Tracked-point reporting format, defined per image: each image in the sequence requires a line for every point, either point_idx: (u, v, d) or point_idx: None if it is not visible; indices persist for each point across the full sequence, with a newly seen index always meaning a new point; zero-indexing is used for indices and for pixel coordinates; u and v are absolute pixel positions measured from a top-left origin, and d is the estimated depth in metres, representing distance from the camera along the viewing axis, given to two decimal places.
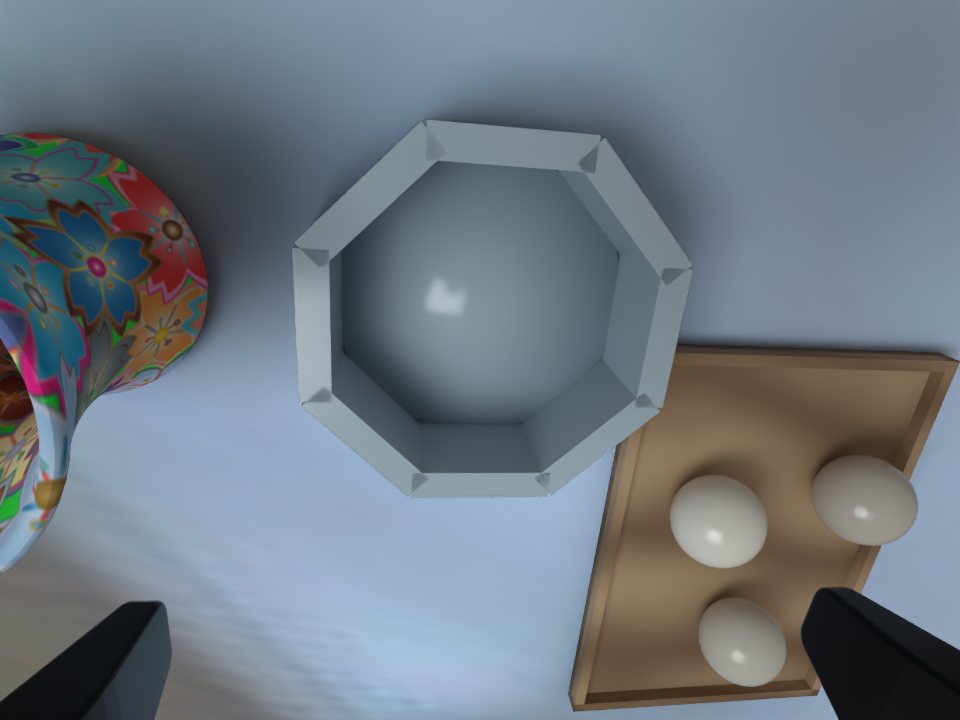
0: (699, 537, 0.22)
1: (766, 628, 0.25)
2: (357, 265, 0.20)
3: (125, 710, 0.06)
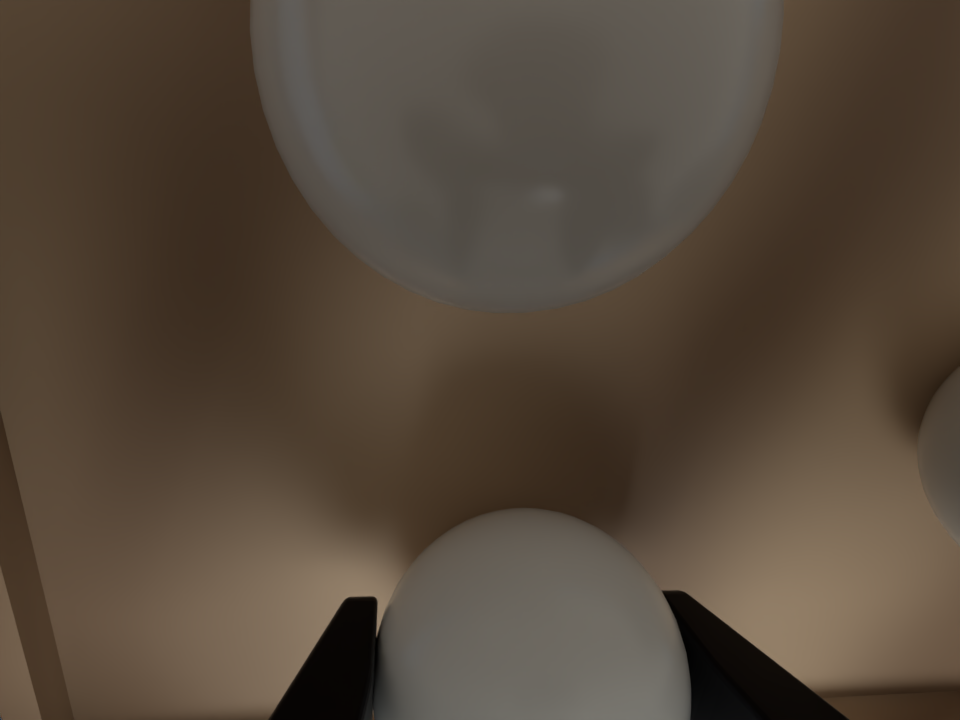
0: None
1: None
2: None
3: (372, 698, 0.06)
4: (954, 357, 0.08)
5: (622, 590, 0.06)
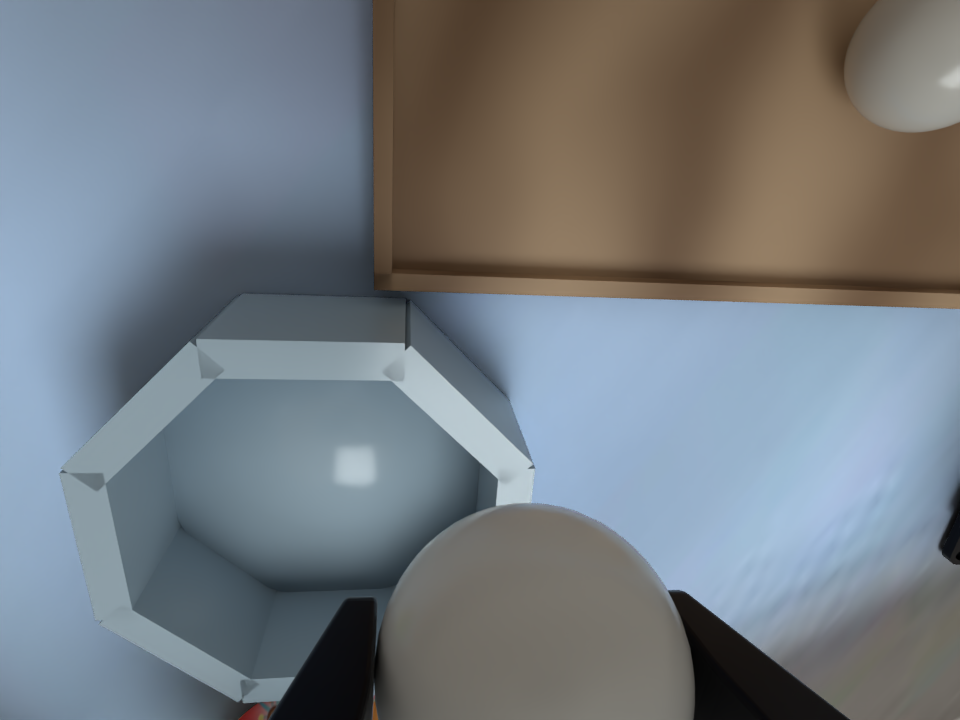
0: None
1: (905, 27, 0.13)
2: (300, 580, 0.20)
3: (372, 698, 0.06)
4: None
5: (626, 584, 0.06)
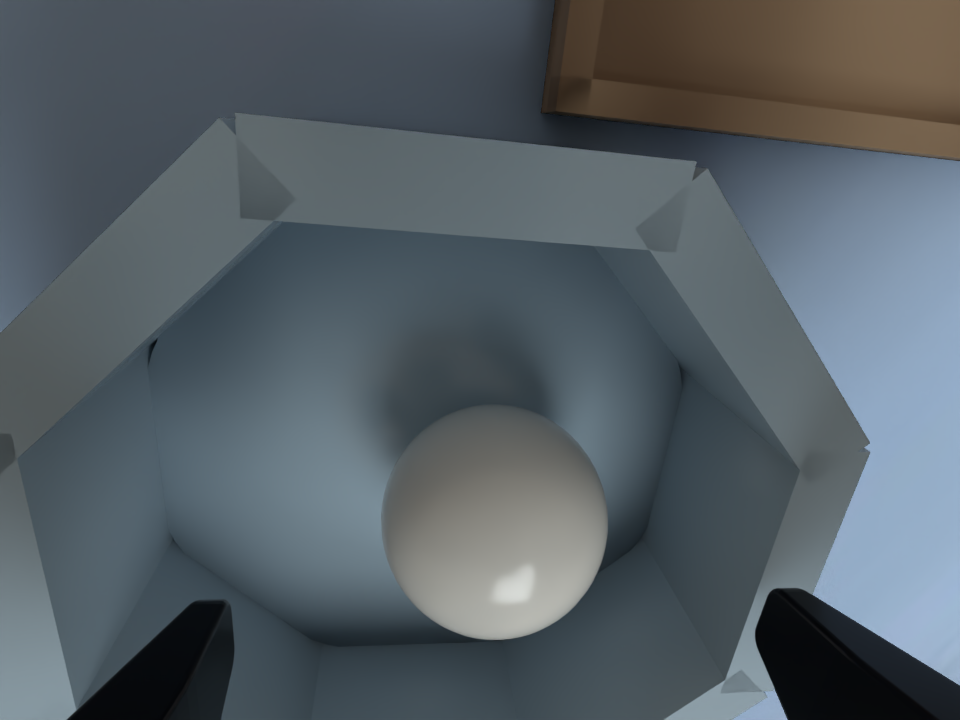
0: None
1: None
2: (362, 628, 0.13)
3: (202, 706, 0.06)
4: None
5: (556, 446, 0.09)
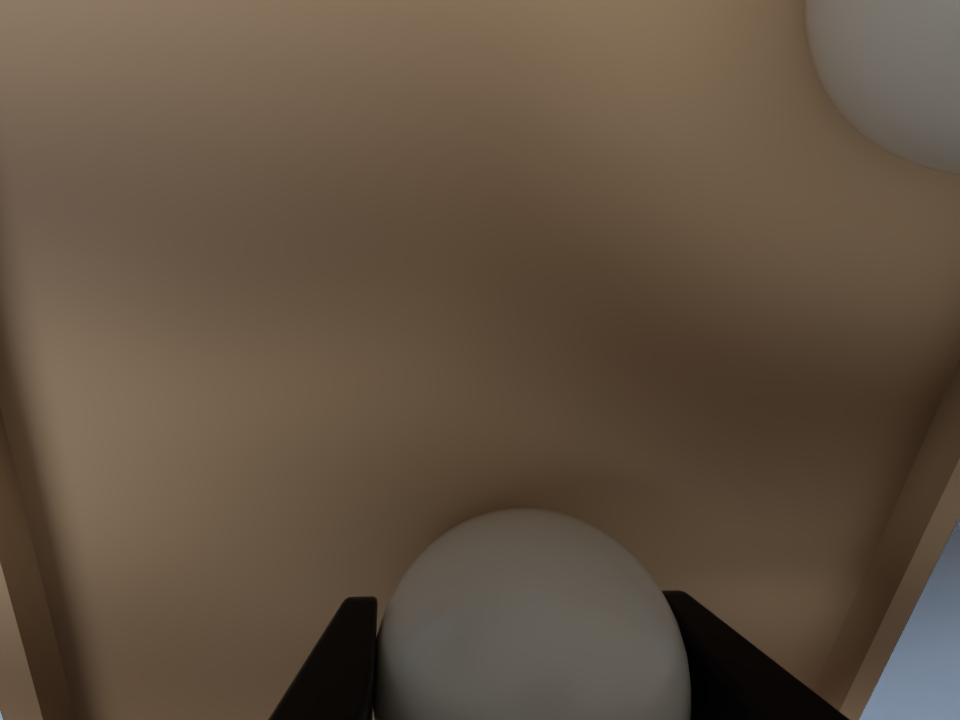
0: None
1: (592, 618, 0.06)
2: None
3: (372, 698, 0.06)
4: None
5: None
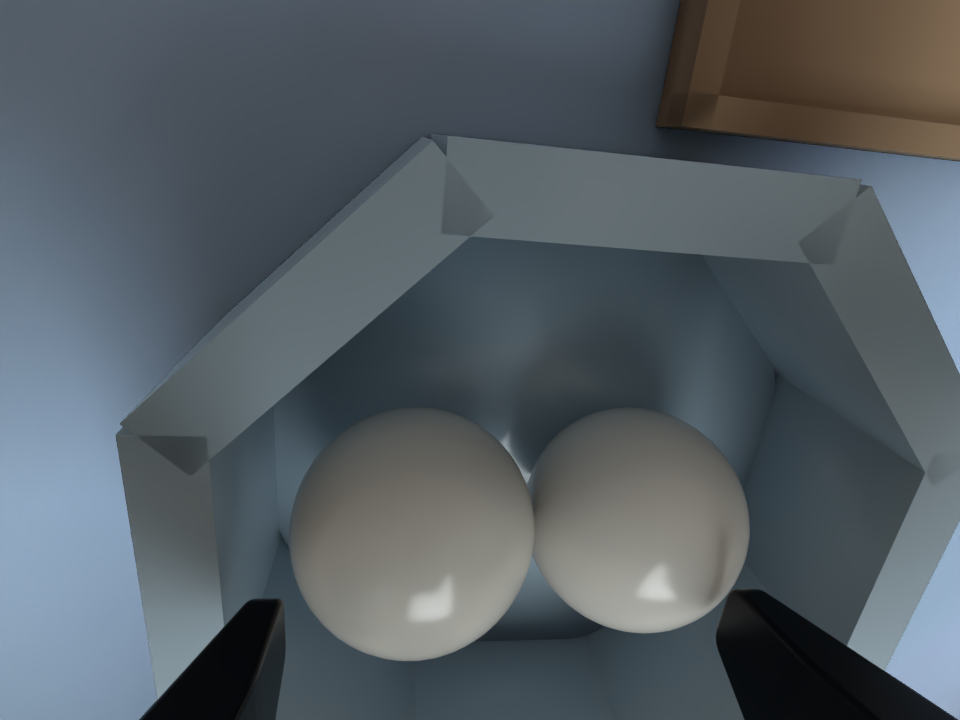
0: None
1: (363, 430, 0.08)
2: None
3: (264, 703, 0.06)
4: None
5: (704, 441, 0.09)
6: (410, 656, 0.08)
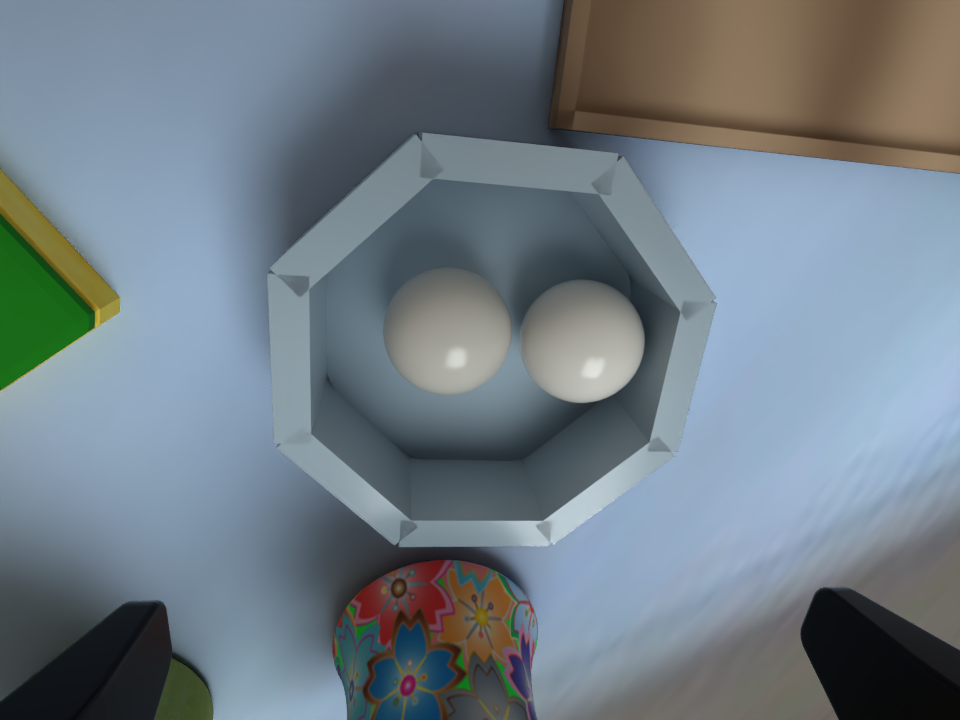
0: (616, 391, 0.17)
1: (422, 273, 0.16)
2: (435, 446, 0.20)
3: (125, 710, 0.06)
4: None
5: None
6: (477, 368, 0.15)
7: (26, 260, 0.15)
